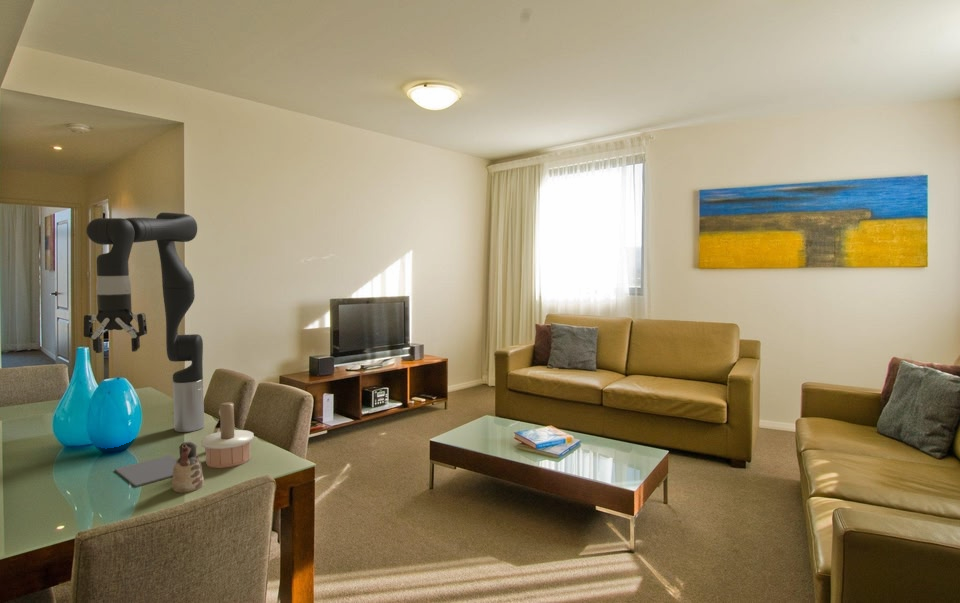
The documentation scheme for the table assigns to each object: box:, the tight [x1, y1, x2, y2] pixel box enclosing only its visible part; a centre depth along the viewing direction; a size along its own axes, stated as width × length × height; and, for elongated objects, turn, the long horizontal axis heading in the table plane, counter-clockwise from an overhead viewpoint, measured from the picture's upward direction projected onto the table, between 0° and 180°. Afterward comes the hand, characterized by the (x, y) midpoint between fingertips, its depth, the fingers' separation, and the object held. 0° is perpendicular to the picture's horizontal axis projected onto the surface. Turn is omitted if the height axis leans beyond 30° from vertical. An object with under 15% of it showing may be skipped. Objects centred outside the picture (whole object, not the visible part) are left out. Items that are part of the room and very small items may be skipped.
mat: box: [114, 454, 178, 488], centre depth 146 cm, size 17×14×1 cm
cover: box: [200, 402, 255, 449], centre depth 153 cm, size 14×14×11 cm
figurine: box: [171, 441, 205, 494], centre depth 135 cm, size 7×7×12 cm
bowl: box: [204, 442, 251, 469], centre depth 154 cm, size 12×12×6 cm
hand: (116, 351), depth 142 cm, fingers open, 8 cm apart
